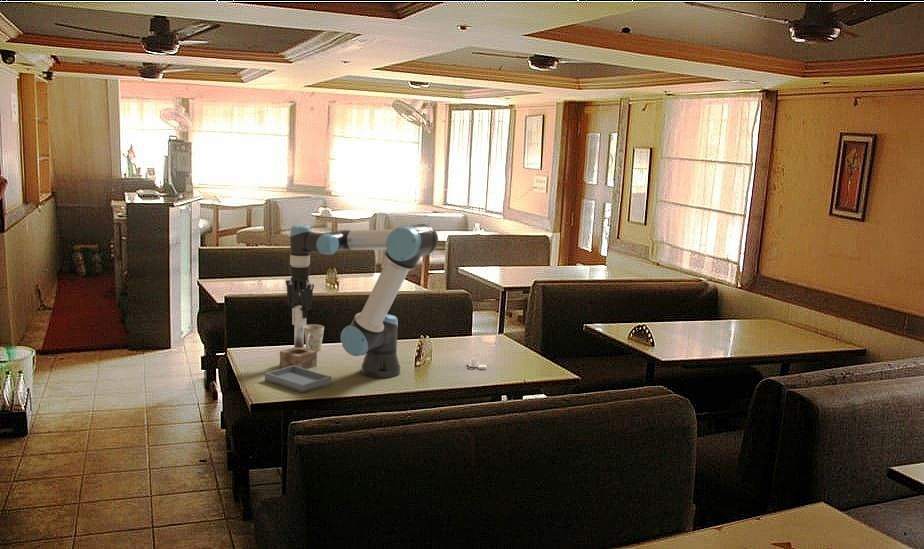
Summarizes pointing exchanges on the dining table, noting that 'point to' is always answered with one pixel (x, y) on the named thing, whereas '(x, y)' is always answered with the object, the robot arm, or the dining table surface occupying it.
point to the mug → (313, 336)
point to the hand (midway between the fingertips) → (299, 325)
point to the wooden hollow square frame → (298, 358)
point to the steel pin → (298, 329)
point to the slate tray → (298, 379)
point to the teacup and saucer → (476, 363)
